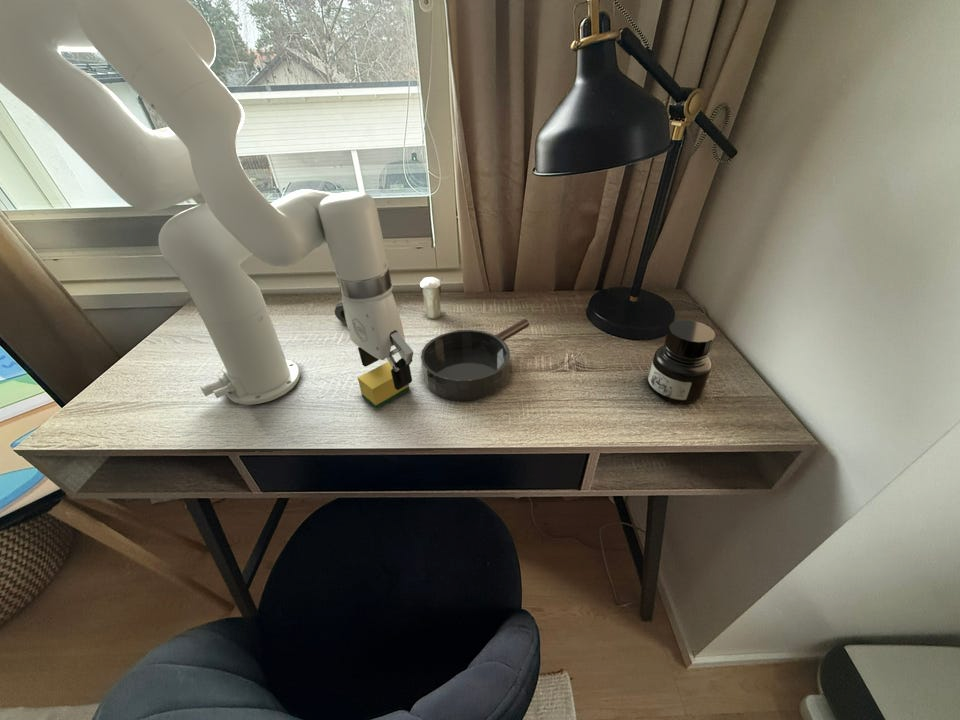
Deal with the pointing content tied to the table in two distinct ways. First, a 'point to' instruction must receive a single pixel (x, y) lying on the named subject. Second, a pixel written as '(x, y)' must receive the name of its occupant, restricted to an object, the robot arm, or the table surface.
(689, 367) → the ink bottle
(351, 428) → the table surface
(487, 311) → the table surface
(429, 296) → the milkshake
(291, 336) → the table surface
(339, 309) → the flashlight
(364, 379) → the sponge
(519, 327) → the pan handle
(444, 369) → the pan
